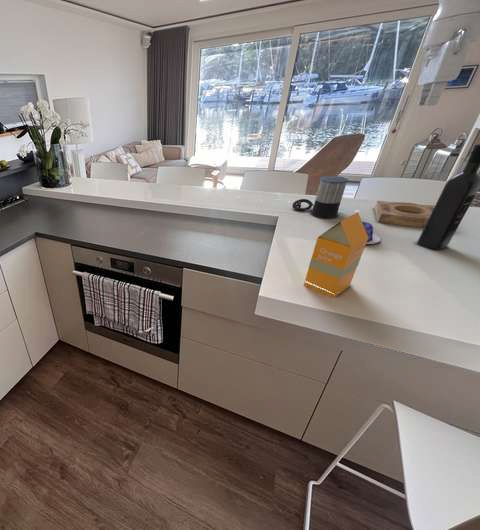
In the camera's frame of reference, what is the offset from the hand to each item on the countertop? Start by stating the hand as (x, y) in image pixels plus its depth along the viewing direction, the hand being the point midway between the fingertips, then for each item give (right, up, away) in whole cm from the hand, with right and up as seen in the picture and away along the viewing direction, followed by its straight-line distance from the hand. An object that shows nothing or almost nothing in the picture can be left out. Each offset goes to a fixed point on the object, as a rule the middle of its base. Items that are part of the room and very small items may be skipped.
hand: (426, 105), depth 70 cm
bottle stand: (+34, -21, +39) cm, 56 cm away
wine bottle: (+24, -33, +21) cm, 46 cm away
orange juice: (-19, -45, +8) cm, 50 cm away
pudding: (+7, -30, +29) cm, 42 cm away
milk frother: (+7, -17, +51) cm, 55 cm away
